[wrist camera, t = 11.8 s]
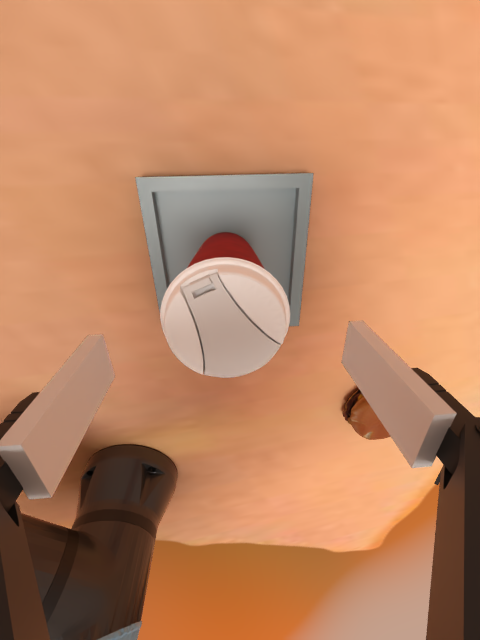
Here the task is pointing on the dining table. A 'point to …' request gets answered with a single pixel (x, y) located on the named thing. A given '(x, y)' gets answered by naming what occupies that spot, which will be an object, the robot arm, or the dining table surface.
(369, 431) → the burger
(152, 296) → the dining table surface
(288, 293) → the tray
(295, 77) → the dining table surface
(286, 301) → the coffee cup
